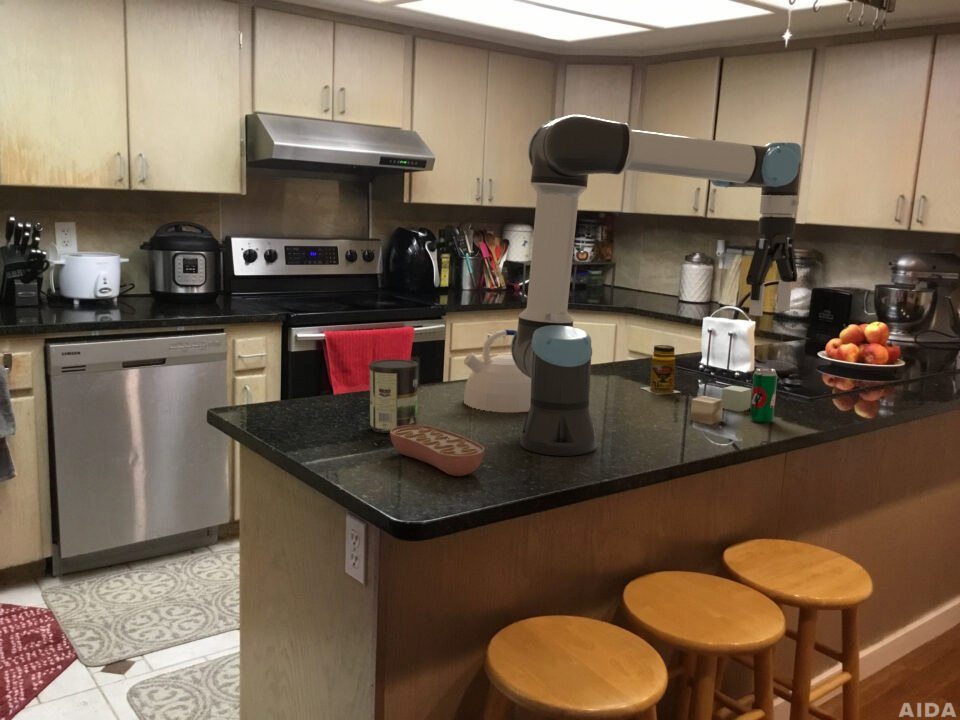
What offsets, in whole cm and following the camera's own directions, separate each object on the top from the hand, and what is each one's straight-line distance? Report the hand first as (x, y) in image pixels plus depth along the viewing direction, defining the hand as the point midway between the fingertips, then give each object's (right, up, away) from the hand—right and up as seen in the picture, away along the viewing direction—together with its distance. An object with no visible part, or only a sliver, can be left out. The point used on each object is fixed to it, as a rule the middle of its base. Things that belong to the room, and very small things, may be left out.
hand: (769, 312), depth 187 cm
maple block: (-13, -24, +4) cm, 28 cm away
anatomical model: (-72, -30, -31) cm, 84 cm away
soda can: (0, -25, +4) cm, 25 cm away
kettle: (-59, -21, +17) cm, 65 cm away
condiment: (-17, -19, +34) cm, 42 cm away
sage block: (-3, -22, +16) cm, 28 cm away
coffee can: (-83, -25, -8) cm, 87 cm away
